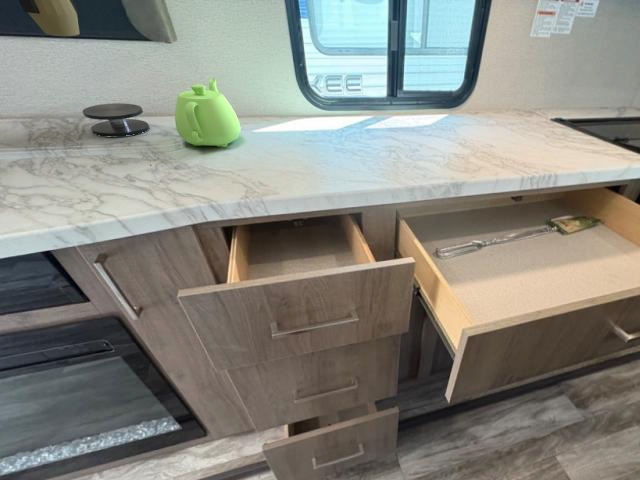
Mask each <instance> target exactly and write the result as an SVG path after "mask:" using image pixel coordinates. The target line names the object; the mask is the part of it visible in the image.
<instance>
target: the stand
mask: <svg viewBox="0 0 640 480" xmlns="http://www.w3.org/2000/svg"><path fill="white" fill-rule="evenodd" d="M143 113H144V110H143V108H142V106H140V105H138V104H133V103H123V102H121V103H120V102H118V103H117V102H115V103H114V102H113V103H101V104H95V105H91V106H88V107H85V108H83V110H82V114H83V117H86V118H88V119H92V120H98V121H99V120H101V121H100V122H97V123H95V124H92V126H91V127H90V130H91V131H92V134H93V135H95V134H96V136H98V135H100V136H99V137H102V136H126V135H133V134H138V133H142V132H144V133H146V132H148V131H149V130H150V128H149V127H150V125H149V123H148V122H147V121H145V120H141V119H134V118H135V117H137V116H141V115H142V114H143ZM148 129H149V130H148ZM147 130H148V131H147ZM145 131H146V132H145ZM142 134H143V133H142ZM138 135H139V134H138Z"/></svg>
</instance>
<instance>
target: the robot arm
mask: <svg viewBox="0 0 640 480" xmlns="http://www.w3.org/2000/svg"><path fill="white" fill-rule="evenodd" d="M17 1H18V3H19V5H20V7H21V8H22V11H23V12H24V13H27V14H29V13H36V14H40V12H39V10H38V8H37V6H36V4H35V2H34V0H17ZM70 2H71V4H72V6H73V8H74V9H75V11H76V13H77V14H78V13H79V12H78V9H77V6H76V4H75V2H74V0H70Z"/></svg>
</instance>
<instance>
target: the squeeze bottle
mask: <svg viewBox="0 0 640 480" xmlns="http://www.w3.org/2000/svg"><path fill="white" fill-rule="evenodd" d="M34 2H35V4H36V6H37V8H38V10H39V12H40V14H36V13H28V14H29V16H30V17H31V18H32V20H33V21H34V22H35V23H36V24H37V25H38V27H39V28H40V29H41V31H43V33H44V34H45V35H49V36H54V37H76V36H79V35H80V34H81V33H80V27H79V19H78V18H79V17H78V13H76V11H75V9H74V8H73V6H72V4H71V2H70V0H34Z"/></svg>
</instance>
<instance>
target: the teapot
mask: <svg viewBox="0 0 640 480" xmlns="http://www.w3.org/2000/svg"><path fill="white" fill-rule="evenodd" d="M208 86H209V87H208V88H209V89H206V85H204V84H201V83H196V84H191V85H190V87H191V89H190V90H185V91H182V92H180V93H179V94H178V95H177V98H176V103H175V109H174V110H175V111H174V123H175V128H176V131H177V134H178V136H180V137H181V138H182V139H183V140H184V141H185V142H187V143H188V144H191V145H192V147H193V146H194V147H201V146H216V147H217V148H226V147H228V144H230V143H232V142H234V141H236V140H237V139H238V137H239V135H240V134H241V122H240V120H239V118H238V115H237V113H236V111H235V110H234V108H233V107H232V105H231V104H230V102H229V101H228V99H227V98H226V97H225V96H224V94H223V93H222V92H221V91H219V90H218V87H217V80H216V78H215V77H211V78H210V79H209V82H208Z"/></svg>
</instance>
